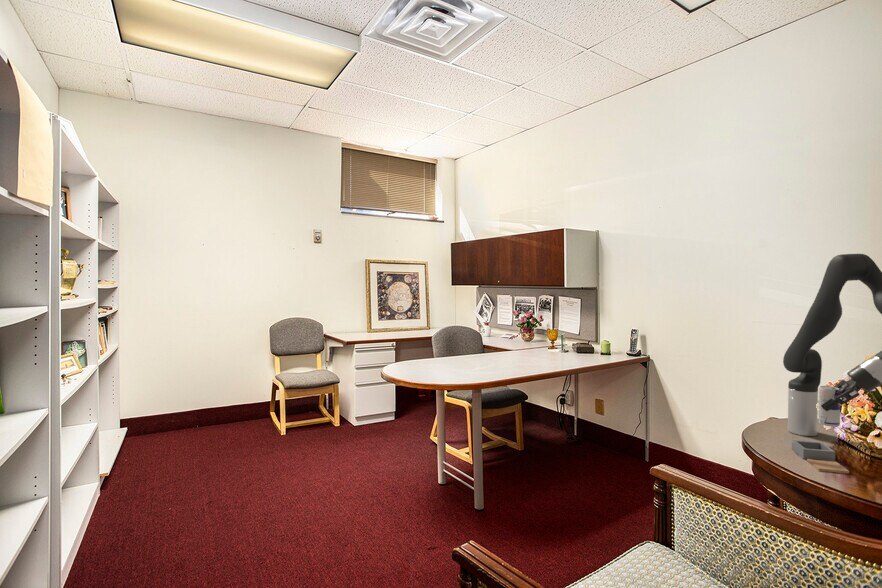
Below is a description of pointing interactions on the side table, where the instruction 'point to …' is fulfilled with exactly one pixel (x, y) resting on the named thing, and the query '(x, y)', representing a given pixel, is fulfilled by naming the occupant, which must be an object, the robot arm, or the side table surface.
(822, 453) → the square collar
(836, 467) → the light tan wooden coaster
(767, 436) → the side table surface
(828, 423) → the energy drink
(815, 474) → the side table surface
